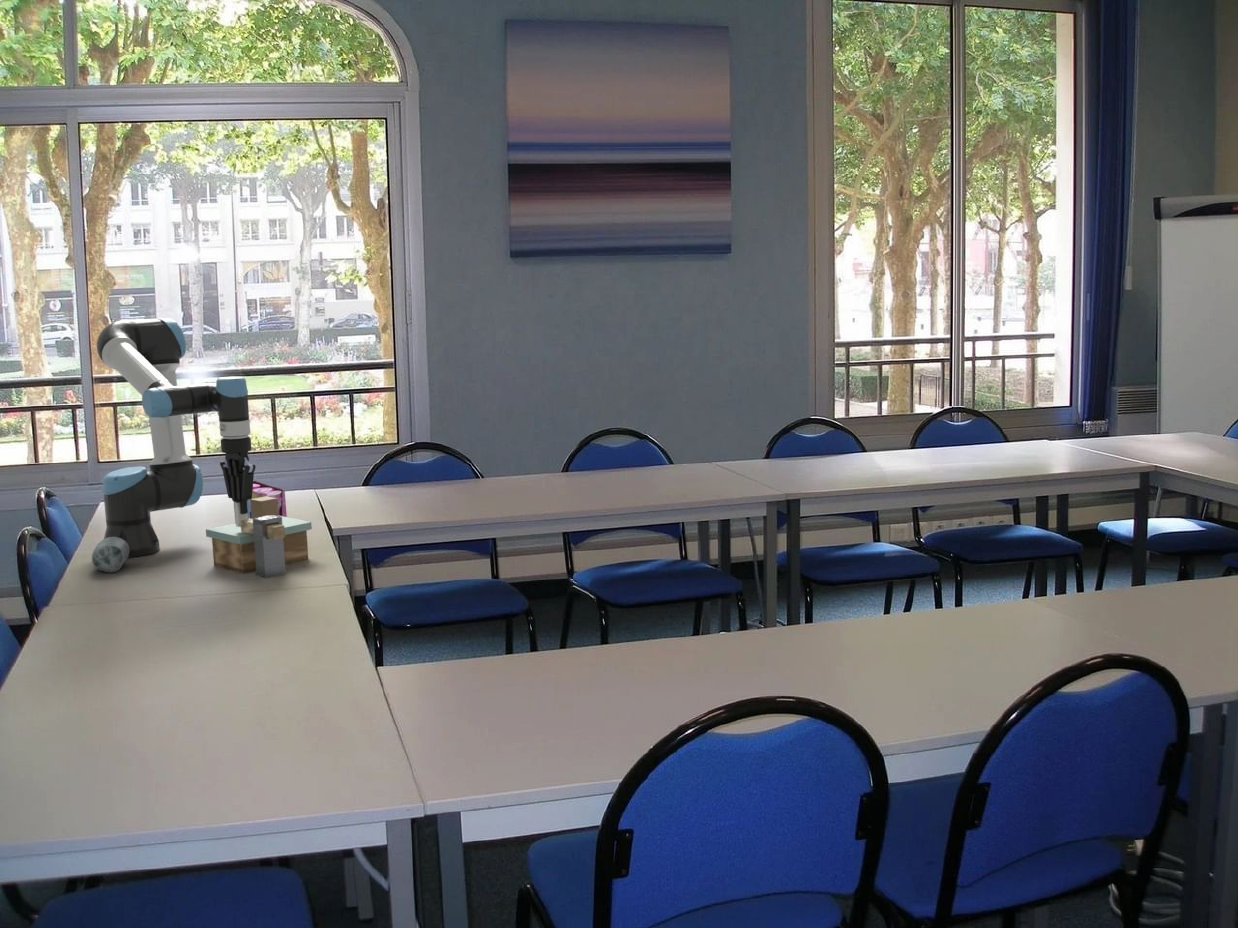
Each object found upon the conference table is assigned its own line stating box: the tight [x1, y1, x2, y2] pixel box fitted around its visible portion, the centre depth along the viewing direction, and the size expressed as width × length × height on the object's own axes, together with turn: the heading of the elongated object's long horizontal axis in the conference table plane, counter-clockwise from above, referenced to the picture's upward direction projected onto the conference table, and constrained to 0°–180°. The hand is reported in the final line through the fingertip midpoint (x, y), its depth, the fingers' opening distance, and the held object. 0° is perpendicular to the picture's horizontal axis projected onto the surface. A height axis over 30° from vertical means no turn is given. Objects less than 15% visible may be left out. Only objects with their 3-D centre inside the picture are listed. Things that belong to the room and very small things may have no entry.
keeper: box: [253, 515, 286, 579], centre depth 317 cm, size 4×6×15 cm, turn 140°
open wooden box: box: [211, 530, 309, 574], centre depth 332 cm, size 14×20×8 cm
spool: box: [91, 537, 130, 573], centre depth 328 cm, size 14×10×10 cm
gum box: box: [233, 480, 288, 523], centre depth 370 cm, size 24×8×14 cm, turn 38°
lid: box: [205, 496, 313, 545], centre depth 330 cm, size 16×22×9 cm
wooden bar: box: [240, 519, 285, 539], centre depth 318 cm, size 15×3×3 cm, turn 50°
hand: (242, 525), depth 324 cm, fingers closed
